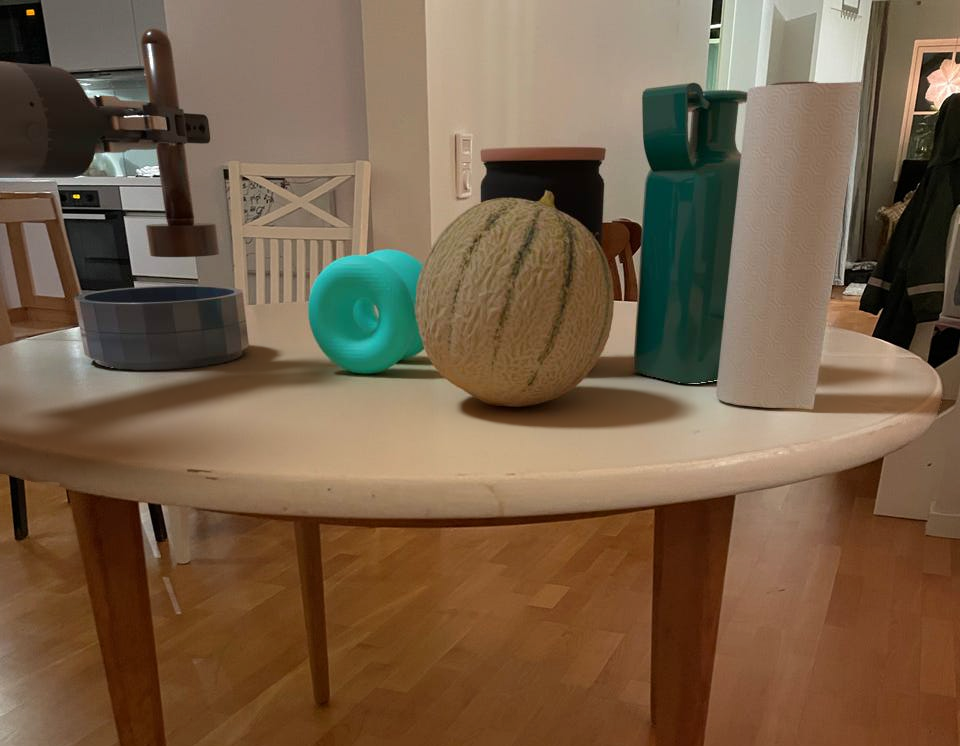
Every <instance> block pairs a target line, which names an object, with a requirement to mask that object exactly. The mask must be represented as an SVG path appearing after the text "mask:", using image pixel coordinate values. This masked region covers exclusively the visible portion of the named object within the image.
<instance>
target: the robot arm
mask: <svg viewBox="0 0 960 746" xmlns="http://www.w3.org/2000/svg"><path fill="white" fill-rule="evenodd" d="M179 107H180V106H179ZM179 107H167V106H161V105H154V103H149V101H141V100H125V99H124V100H123V99H122V100H121V99H120V98H119V97H118V96H115V95H98V94H97V95H93V97H88V94H87V93H86V91H85V89H84V88H83V86H82V85H81V83H80V82H79V81H78V80H77V78H75V76H74V75H72V74H71V73H70V72H69V71H67V70H65V69H64V68H61V67H59V66H58V67H57V66H52V65H43V64H42V65H41V64H31V63H21V62H12V61H11V62H10V61H1V60H0V179H72V178H77V177H81V176H82V175H85V173H86V172H87V171H88V170H89V169H90V167H91V166H92V163H93V161H94V159H95V156H96V154H120V153H126V152H127V151H153V150H154V151H155V150H156V148H157V146H158V144H169V146H175V144H177V145H183V143H184V145H186V144H196V145H197V144H199V145H200V144H202V145H203V144H209V143H210V141H211V131H210V124H209V118H208V117H207V115H206V114H203V113H202V114H201V113H186V112H185V111H184V109H183V108H180V109H179Z"/></svg>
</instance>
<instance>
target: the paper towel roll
mask: <svg viewBox="0 0 960 746" xmlns="http://www.w3.org/2000/svg"><path fill="white" fill-rule="evenodd" d="M863 85H864V81H849V82H848V81H846V82H817V81H784V82H783V81H782V82H775V83H771V84H770V85H760V86H754V87H750V88H748V90H747V92H748V94H747V102H746V103H745V104H746V105H745V112H744V113H745V114H744V124H743V132H742V133H743V134H742V141H741V144H742V145H741V150H740V151H741V152H740V153H741V161H740V170H739V180H738V190H737V199H736V209H735V218H734V228H733V237H732V247H731V256H730V266H729V276H728V285H727V295H726V304H725V314H724V323H723V333H722V342H721V352H720V361H719V371H718V381H717V382H716V392H715V393H716V397H717V400H719V401H721V402H724V403H727V404H732V405H737V406H746V407H756V408H757V407H758V408H771V409H785V408H786V409H805V410H806V409H807V410H814V406H815V401H816V400H815V399H816V392H817V386H818V380H819V373H820V368H821V367H820V366H821V359H822V355H823V346H824V339H825V335H826V327H827V321H828V314H829V308H830V301H831V295H832V288H833V281H834V275H835V269H836V261H837V255H838V250H839V241H840V236H841V228H842V223H843V215H844V209H845V203H846V196H847V192H848V191H847V190H848V183H849V178H850V177H849V176H850V170H851V164H852V158H853V151H854V144H855V137H856V132H857V131H856V130H857V125H858V118H859V110H860V105H861V99H862V92H863Z"/></svg>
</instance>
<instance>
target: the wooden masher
mask: <svg viewBox="0 0 960 746" xmlns="http://www.w3.org/2000/svg"><path fill="white" fill-rule="evenodd" d="M140 48H141V55H142V62H143V67H144V74H145V83H146V88H147V89H146V90H147V95H148V103H154V105H161V106H167V107H179V109H181V108H180V107H181V106H180V100H179V92H178V86H177V78H176V71H175V62H174V55H173V48H172V43H171V39H170V38H169V36H168V35H167V34H166V33H165V32H164V31H163V30H161V29H160V28H157V27H156V28H155V27H150V28H148V29H147V30H145V31H144V32H143V34H142V35H141V38H140ZM185 145H186V144H184V143H183V145H177V144H175V146H169V144H158V146H157V148H156V149H155V151H156V158H157V167H158V172H159V178H160V179H159V180H160V185H161V192H162V200H163V207H164V214H165V220H166V223H154V224H147V225H145V229H146V235H147V242H148V249H149V254H150V255H149V256H151V257H154V258H198V257H200V258H201V257H210V256H211V257H213V256H217V255H220V248H219V247H220V246H219V240H218V239H219V238H218V231H217V224H216V223H212V222H211V223H209V222H195V213H194V207H193V198H192V191H191V184H190V183H191V182H190V175H189V169H188V161H187V154H186V153H187V152H186V146H185Z"/></svg>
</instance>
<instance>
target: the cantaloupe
mask: <svg viewBox="0 0 960 746" xmlns="http://www.w3.org/2000/svg"><path fill="white" fill-rule="evenodd" d="M422 264H423V267H422V269H421V271H420V275H419V279H418V283H417V290H416V304H415V314H416V318H417V324H418V327H419V334H420V336H421V339H422V342H423V345H424V348H425V349H424V351H425V353H426V355H427V357H428V359H429V361H430V363H431V364H432V366H433V368H435V370H436V371H437V372H438V374H440V376H441V377H443V378H444V379H445V380H447V381H448V382H449V383H450V384H452V385H453V386H455V387H457V388H459V389H460V390H462V391H464V392H465V393H467V394H468V395H470V396H472V397H474V398H476V399H478V400H479V401H481V402H483V403H485V404H486V405H490V406H496V407H515V408H518V407H520V408H521V407H527V406H535V405H539V404H544V403H545V402H549V401H552V400H554V399H557V398H558V397H561V396H563V395H564V394H566V393H568V392H569V391H570V390H572V389H574V388H576V387H577V386H578V385H579V384H581V382H582V381H583V380H584V379H585V378H586V376H588V374H589V373H590V372H591V370H592V369H593V368H594V366H595V365H596V363H597V362H598V360H599V358H600V356H601V355H602V354H603V352H604V350H605V347H606V345H607V343H608V340H609V337H610V333H611V330H612V324H613V319H614V318H613V317H614V306H615V305H614V304H615V291H614V280H613V274H612V271H611V268H610V265H609V262H608V259H607V257H606V254H605V253H604V250H603V248H602V246H601V247H600V245H599V243H598V242H597V240H596V239H595V238H594V237H593V235H592V234H591V233H590V232H589V231H588V229H587V228H586V227H584V226H583V225H582V224H581V223H580V222H579V221H577V220H576V219H574V218H572V217H570V216H569V215H567V214H565V213H563V212H561V211H559V210H557V209H556V208H555V206H554V196H553V194H552V192H550V191H545V195H544V196H543V197H542V198H541V199H540V201H536V202H534V201H529V200H525V199H518V198H498V199H492V200H488V201H484V202H482V203H481V202H479V203H476V204H474V205H472V206H471V207H469V208H468V209H466V210H465V211H463V212H461V213H460V214H458V216H456V218H454V220H452V221H451V222H450V223H448V224H447V226H446V227H445V228H443V230H442V231H441V232H440V234H439V235H438V236H437V238H436V239H435V241H434V242H433V244H432V246H431V247H430V248H429V250H428V251H427V253H426V255H425V259H424V261H423V263H422Z"/></svg>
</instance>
